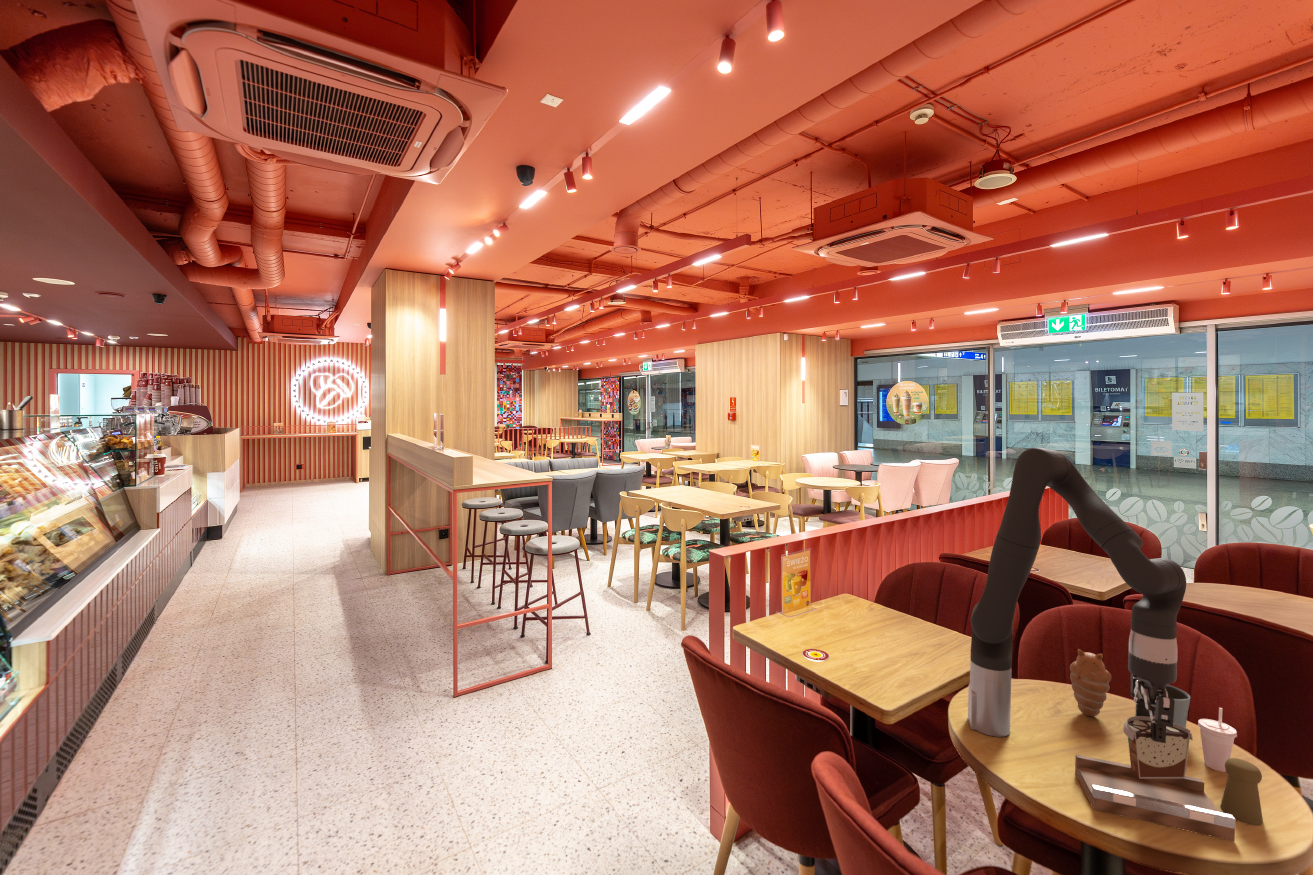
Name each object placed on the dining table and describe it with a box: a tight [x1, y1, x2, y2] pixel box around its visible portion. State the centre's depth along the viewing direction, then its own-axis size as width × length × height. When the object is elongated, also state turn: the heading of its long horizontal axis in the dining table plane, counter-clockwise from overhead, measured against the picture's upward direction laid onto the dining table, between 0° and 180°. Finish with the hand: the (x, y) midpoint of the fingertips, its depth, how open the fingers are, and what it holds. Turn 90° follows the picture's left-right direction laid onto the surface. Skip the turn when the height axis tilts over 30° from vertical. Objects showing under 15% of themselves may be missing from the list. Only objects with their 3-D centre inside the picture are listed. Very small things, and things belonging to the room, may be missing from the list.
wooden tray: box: [1074, 754, 1236, 842], centre depth 115 cm, size 22×13×4 cm, turn 67°
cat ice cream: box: [1069, 648, 1112, 717], centre depth 149 cm, size 9×8×18 cm
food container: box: [1122, 716, 1194, 779], centre depth 115 cm, size 12×6×10 cm, turn 89°
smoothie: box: [1197, 707, 1238, 773], centre depth 127 cm, size 6×6×14 cm
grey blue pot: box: [1151, 684, 1191, 728], centre depth 139 cm, size 10×10×12 cm
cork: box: [1219, 757, 1264, 827], centre depth 112 cm, size 6×6×11 cm
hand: (1149, 731), depth 114 cm, fingers closed on food container, 7 cm apart
